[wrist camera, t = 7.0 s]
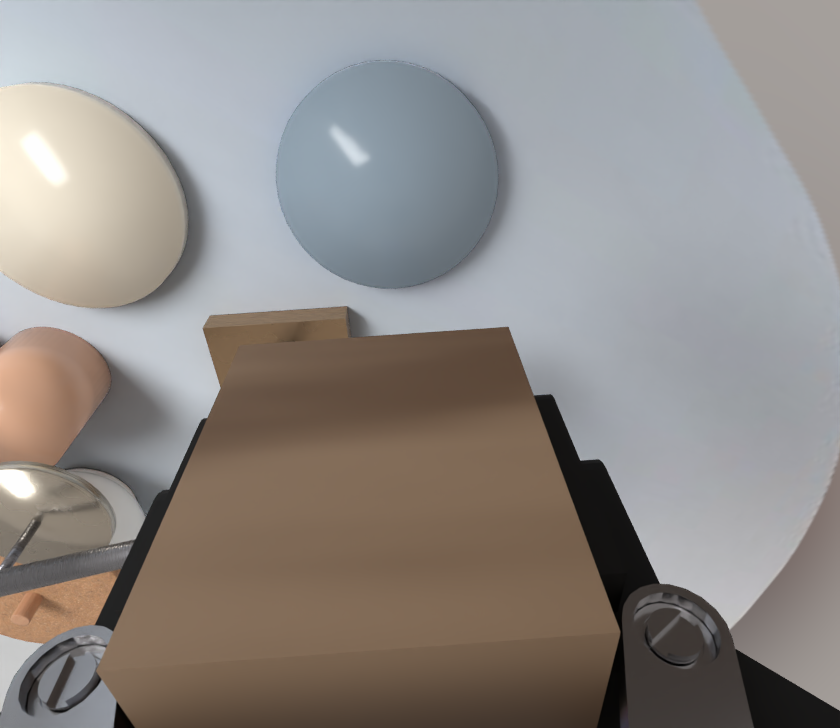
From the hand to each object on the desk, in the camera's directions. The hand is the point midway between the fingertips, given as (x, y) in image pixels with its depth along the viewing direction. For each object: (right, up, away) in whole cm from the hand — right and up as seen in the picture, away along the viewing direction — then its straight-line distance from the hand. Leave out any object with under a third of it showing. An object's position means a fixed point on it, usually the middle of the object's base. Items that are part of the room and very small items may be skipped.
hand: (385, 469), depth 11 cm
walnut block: (0, 0, +1) cm, 1 cm away
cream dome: (-17, +10, +18) cm, 27 cm away
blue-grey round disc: (-1, +11, +18) cm, 21 cm away
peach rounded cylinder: (-21, +2, +23) cm, 32 cm away
